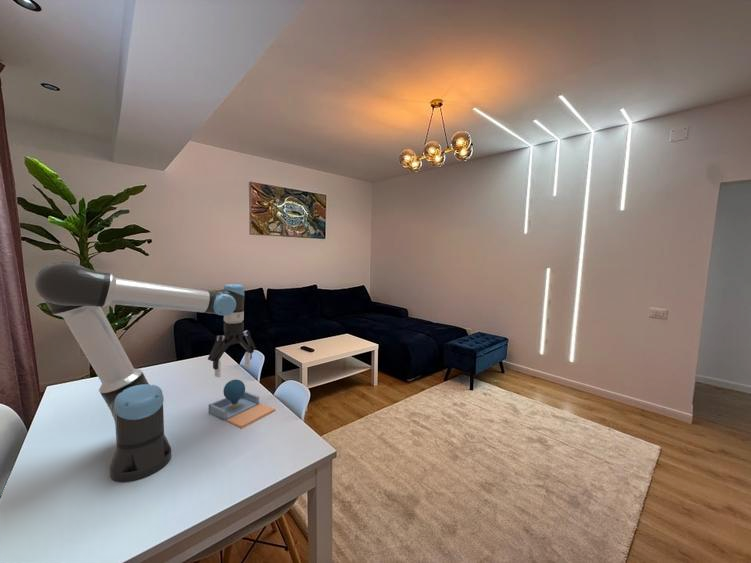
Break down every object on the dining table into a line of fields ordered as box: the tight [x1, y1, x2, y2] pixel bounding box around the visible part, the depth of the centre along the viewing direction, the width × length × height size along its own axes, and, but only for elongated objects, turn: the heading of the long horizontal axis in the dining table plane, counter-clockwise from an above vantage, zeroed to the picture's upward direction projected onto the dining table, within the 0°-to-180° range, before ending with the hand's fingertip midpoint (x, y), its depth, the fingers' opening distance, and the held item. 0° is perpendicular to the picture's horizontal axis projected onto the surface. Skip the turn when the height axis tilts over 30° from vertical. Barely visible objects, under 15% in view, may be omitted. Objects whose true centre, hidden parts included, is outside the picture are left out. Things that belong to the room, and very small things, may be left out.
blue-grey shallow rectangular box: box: [208, 390, 260, 422], centre depth 128 cm, size 16×11×4 cm
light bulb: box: [222, 379, 246, 408], centre depth 127 cm, size 8×8×12 cm
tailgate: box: [225, 403, 276, 429], centre depth 122 cm, size 16×1×10 cm
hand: (233, 371), depth 126 cm, fingers open, 13 cm apart
